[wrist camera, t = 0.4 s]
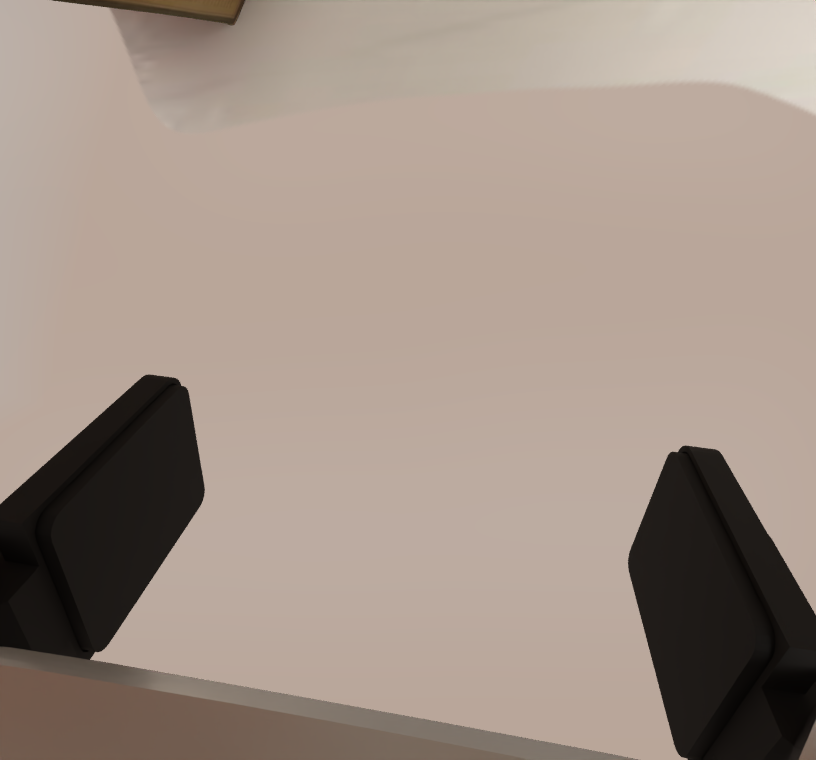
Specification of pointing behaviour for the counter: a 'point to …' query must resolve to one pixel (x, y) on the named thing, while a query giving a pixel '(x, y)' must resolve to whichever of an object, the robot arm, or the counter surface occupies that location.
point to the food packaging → (177, 8)
